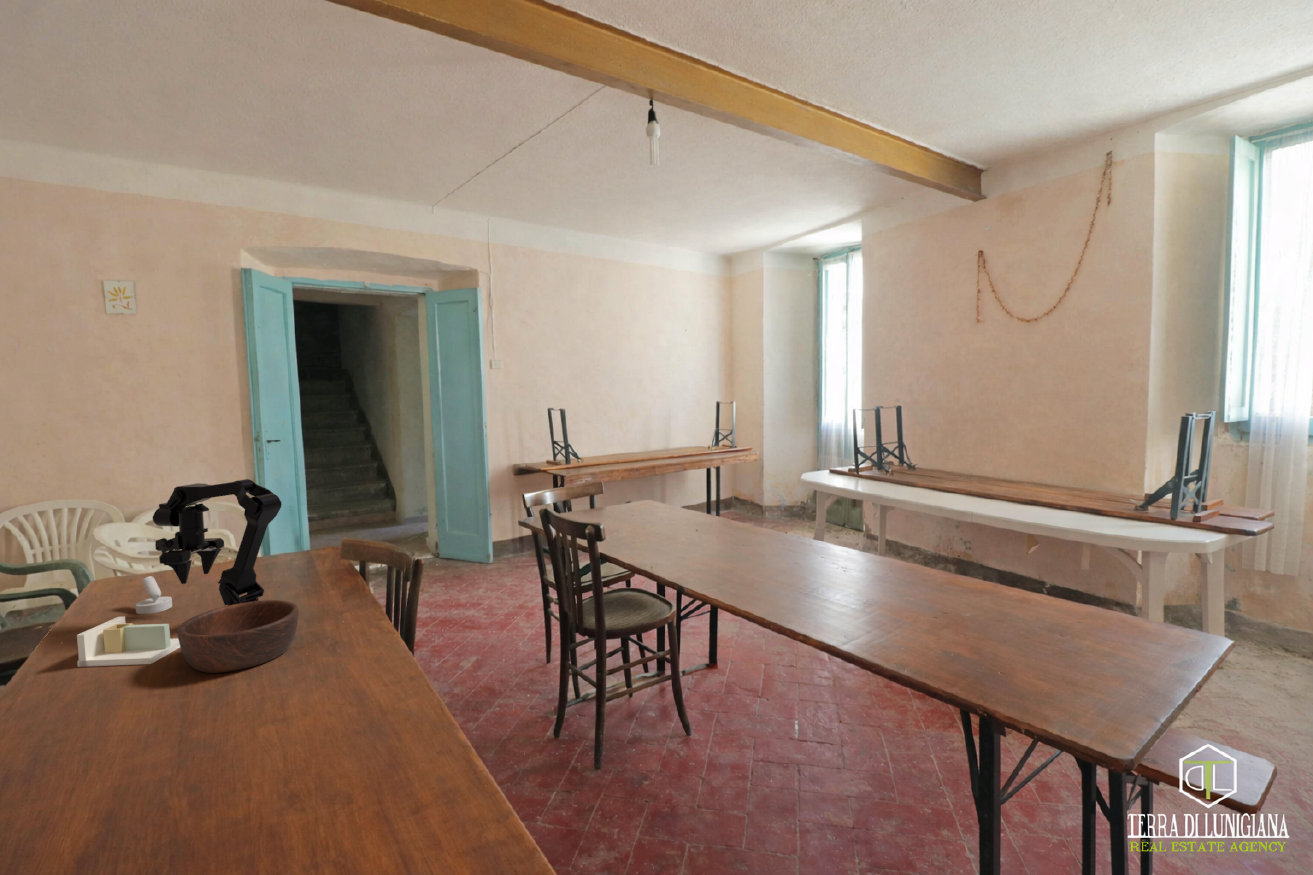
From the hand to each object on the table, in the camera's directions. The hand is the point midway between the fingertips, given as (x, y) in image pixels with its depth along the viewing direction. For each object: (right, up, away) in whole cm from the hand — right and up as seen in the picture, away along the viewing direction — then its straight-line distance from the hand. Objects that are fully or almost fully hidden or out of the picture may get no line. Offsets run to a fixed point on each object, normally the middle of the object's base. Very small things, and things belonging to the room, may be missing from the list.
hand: (195, 578), depth 174 cm
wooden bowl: (+32, -14, -25) cm, 43 cm away
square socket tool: (+5, -12, -24) cm, 27 cm away
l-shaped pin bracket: (+3, -14, -24) cm, 28 cm away
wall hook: (-21, -12, +10) cm, 26 cm away
